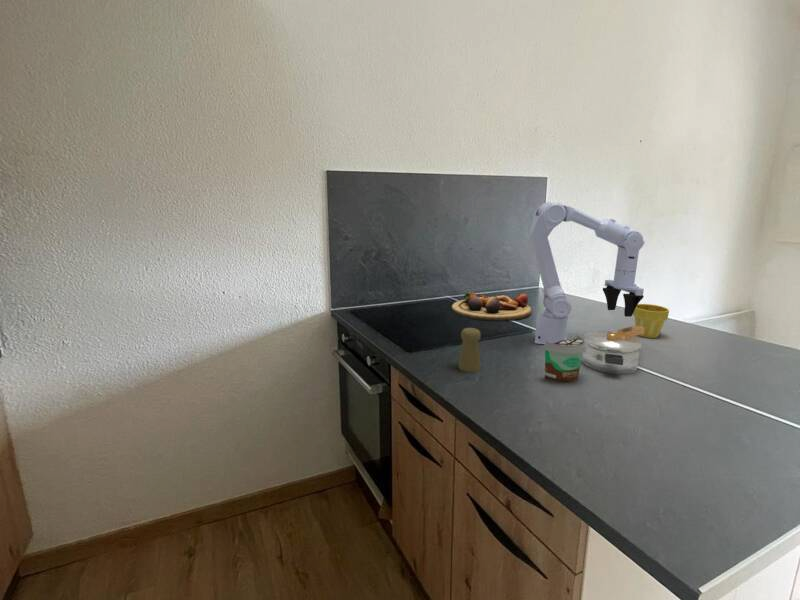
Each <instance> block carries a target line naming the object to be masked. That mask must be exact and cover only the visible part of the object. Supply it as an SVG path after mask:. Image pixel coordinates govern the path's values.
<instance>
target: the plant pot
mask: <svg viewBox="0 0 800 600" xmlns="http://www.w3.org/2000/svg"><path fill="white" fill-rule="evenodd" d="M669 313H670V309H669V308H667V307H664V306H663V305H662V306H661V305H658V304H651V303H650V304H649V303H638V305H637V306H636V308H635V310H634V312H633V315H632V316H634V322H635V323H634V324H635V325H634V326H641V327H644V328H645V330H644V334H640V335H638V336H640V337H643V338H649V339H656V338H658V337H659V335H660V333H661V330H662V328H663V326H664V323H665V321H667V320H668V318H669Z"/></svg>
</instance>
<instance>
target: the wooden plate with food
mask: <svg viewBox="0 0 800 600" xmlns="http://www.w3.org/2000/svg"><path fill="white" fill-rule="evenodd" d="M462 298H463V299H462V300H458V301H456V302H454V303H452V305H451V311H452V312H453V313H454V314H455V315H458V316H461V317H464V318H468V319H472V320H473V319H474V320H478V321H479V320H481V321H493V322H494V321H496V322H497V321H499V322H501V321H513V320H520V319H524V318H527V317H529V316H530V315H531V313H532V312H533V311H532V307H531V306H529V305H528V303H529V302H528V299H529V297H528V295H527V294H526V293H521V294H518V295H516V296H515V297H514V299H512V298H510V296H508V295H504V294H503V295H495V296H487V295H484V294H478V296H477V295H476V294H475V292H474V291H473V290H470V291H468V292H467V291H466V292H465V293H464V295H463V297H462Z"/></svg>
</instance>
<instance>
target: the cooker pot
mask: <svg viewBox="0 0 800 600" xmlns="http://www.w3.org/2000/svg"><path fill="white" fill-rule="evenodd" d="M640 351H641V350H639V351H637V352H630V353H620V352H611V351H605V350H601V349H597V348H594V347H591V346H589V345H587V344H586V351H585V352H583V355H582V360H581V363H582V362H583V363H582V364H584V366H586V367H588V368H590V369H592V370H595V371H599V372H602V373H606V374H607V373H608V374H613V375H628V374H633V373H635V372H636V371H637V369H638V363H639V358H640V357H639V356H640Z"/></svg>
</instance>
